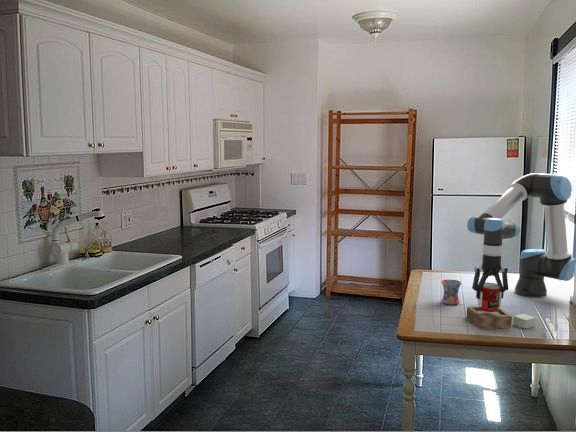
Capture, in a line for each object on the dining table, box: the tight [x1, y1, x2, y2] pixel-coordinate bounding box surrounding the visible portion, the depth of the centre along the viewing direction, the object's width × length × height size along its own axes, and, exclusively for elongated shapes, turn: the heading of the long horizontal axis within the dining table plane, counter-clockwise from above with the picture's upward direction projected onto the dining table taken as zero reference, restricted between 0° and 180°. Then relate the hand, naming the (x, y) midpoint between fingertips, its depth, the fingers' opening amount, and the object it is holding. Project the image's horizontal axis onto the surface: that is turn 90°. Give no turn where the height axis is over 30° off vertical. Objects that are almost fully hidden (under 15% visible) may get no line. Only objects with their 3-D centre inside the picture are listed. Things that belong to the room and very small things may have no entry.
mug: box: [441, 279, 462, 306], centre depth 267 cm, size 12×9×11 cm
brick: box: [513, 313, 536, 329], centre depth 235 cm, size 6×6×4 cm
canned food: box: [480, 282, 500, 312], centre depth 237 cm, size 8×8×11 cm
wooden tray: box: [466, 305, 513, 329], centre depth 238 cm, size 14×14×5 cm
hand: (489, 305), depth 238 cm, fingers closed on canned food, 8 cm apart
